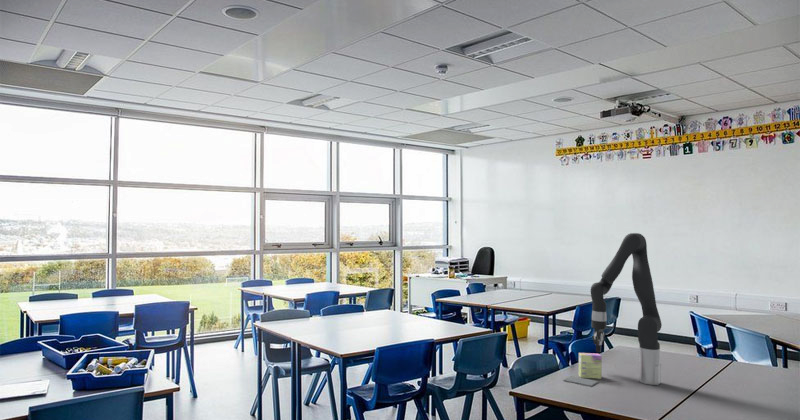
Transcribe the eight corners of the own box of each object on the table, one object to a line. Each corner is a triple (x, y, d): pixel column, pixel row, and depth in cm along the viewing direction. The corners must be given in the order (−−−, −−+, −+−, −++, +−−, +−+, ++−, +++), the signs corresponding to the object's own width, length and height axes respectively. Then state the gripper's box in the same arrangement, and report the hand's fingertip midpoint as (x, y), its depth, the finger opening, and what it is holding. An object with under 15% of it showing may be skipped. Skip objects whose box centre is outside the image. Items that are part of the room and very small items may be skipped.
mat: (598, 382, 266) (598, 381, 266) (591, 386, 258) (591, 385, 258) (571, 377, 275) (571, 375, 275) (563, 381, 267) (563, 379, 267)
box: (598, 376, 278) (598, 353, 279) (601, 379, 272) (601, 355, 273) (578, 375, 279) (578, 352, 280) (580, 378, 274) (580, 354, 274)
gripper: (601, 322, 279) (601, 355, 279) (610, 319, 289) (609, 351, 289) (587, 320, 284) (586, 352, 284) (596, 317, 294) (595, 348, 294)
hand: (598, 351), depth 286 cm, fingers closed
